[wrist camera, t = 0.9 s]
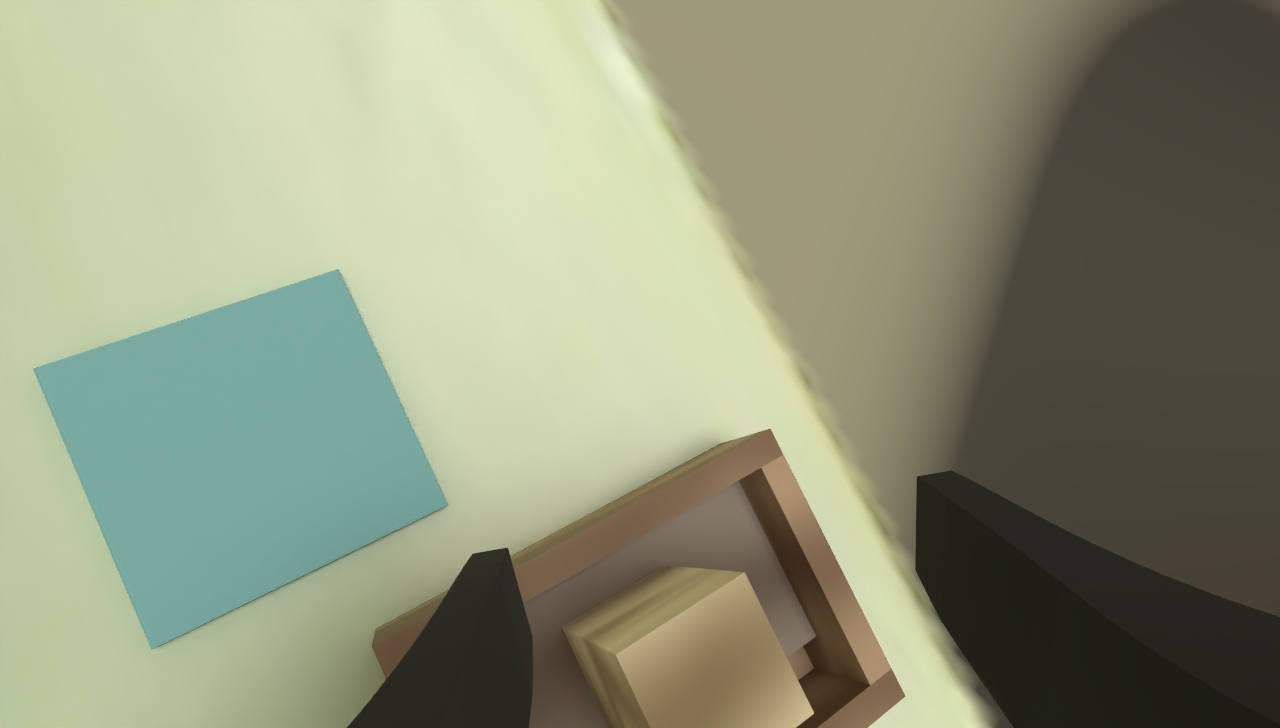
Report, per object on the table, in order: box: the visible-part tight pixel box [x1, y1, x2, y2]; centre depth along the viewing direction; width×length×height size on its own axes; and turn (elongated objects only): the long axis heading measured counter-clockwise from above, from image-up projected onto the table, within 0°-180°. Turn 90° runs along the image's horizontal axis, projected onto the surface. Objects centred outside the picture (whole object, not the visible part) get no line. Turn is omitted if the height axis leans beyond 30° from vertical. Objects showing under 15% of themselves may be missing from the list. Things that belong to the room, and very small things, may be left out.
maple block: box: [562, 565, 814, 728], centre depth 20 cm, size 4×4×6 cm
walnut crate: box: [372, 429, 905, 728], centre depth 23 cm, size 10×14×4 cm
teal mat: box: [33, 269, 448, 649], centre depth 22 cm, size 9×9×1 cm
